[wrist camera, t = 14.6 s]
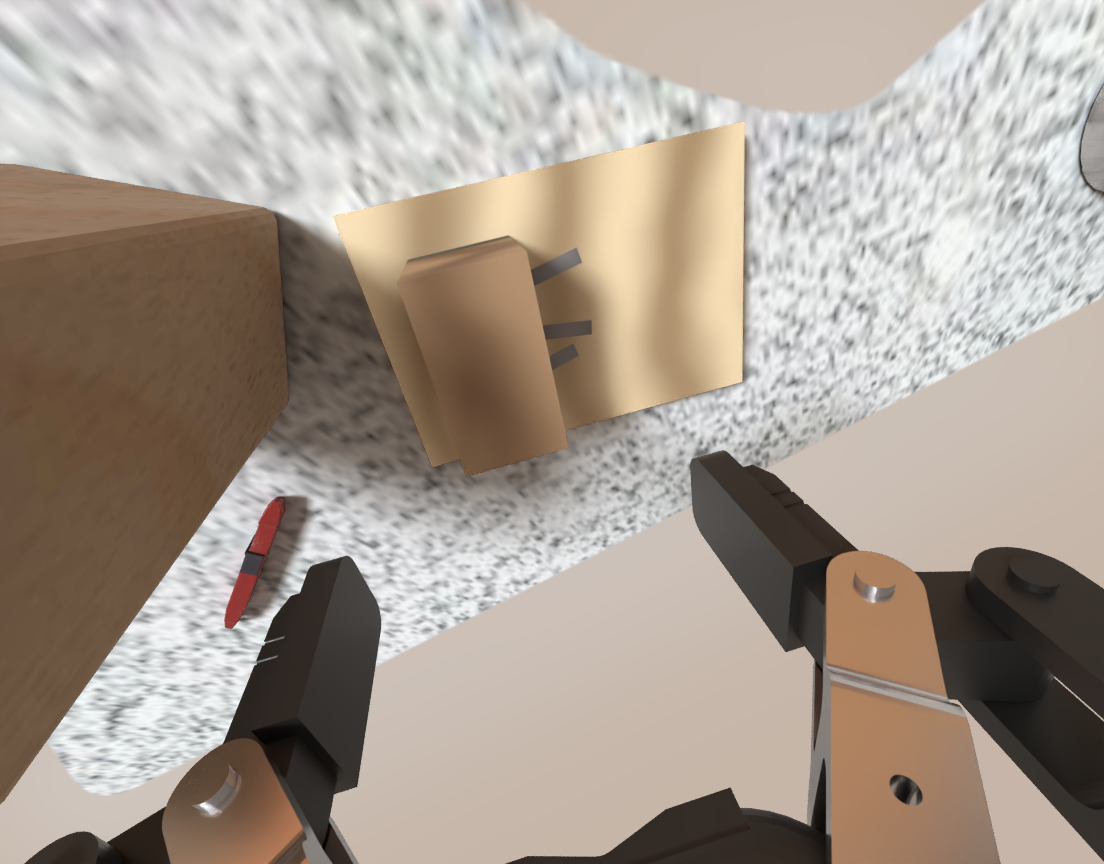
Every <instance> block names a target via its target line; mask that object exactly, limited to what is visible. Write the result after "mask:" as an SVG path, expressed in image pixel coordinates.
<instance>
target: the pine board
mask: <svg viewBox="0 0 1104 864" xmlns="http://www.w3.org/2000/svg"><path fill="white" fill-rule="evenodd" d="M744 143H745V122H741V123H736V124H731V125H726V126H722V127H718V128H713V129H709V130H705V131H700V132H696V133H692V134H687V135H683V136H679V137H674V138H670V139H665V140H661V141H657V142H652V143H648V144H644V145H639V146H635V147H631V148H626V149H622V150H618V151H613V152H609V153H605V154H600V155H596V156H592V157H587V158H583V159H579V160H574V161H570V162H565V163H561V164H557V165H552V166H548V167H544V168H539V169H535V170H531V171H526V172H522V173H518V174H513V175H509V176H505V177H500V178H496V179H492V180H487V181H483V182H478V183H474V184H470V185H465V186H461V187H457V188H452V189H448V190H444V191H439V192H435V193H431V194H426V195H422V196H418V197H413V198H409V199H405V200H400V201H396V202H392V203H387V204H383V205H378V206H374V207H370V208H365V209H361V210H357V211H352V212H348V213H344V214H339V215H336V216H333V218H334V221H335V223H336V226H337V228H338V231H339V233H340V236H341V238H342V241H343V243H344V246H345V248H346V251H347V253H348V256H349V259H350V261H351V264H352V266H353V269H354V271H355V274H356V276H357V279H358V281H359V284H360V286H361V289H362V291H363V294H364V296H365V299H366V301H367V304H368V306H369V309H370V312H371V314H372V317H373V319H374V322H375V324H376V327H377V329H378V332H379V334H380V337H381V339H382V342H383V344H384V347H385V349H386V352H387V354H388V357H389V359H390V362H391V365H392V367H393V370H394V372H395V375H396V377H397V380H398V382H399V385H400V387H401V390H402V392H403V395H404V397H405V400H406V402H407V405H408V407H409V410H410V412H411V415H412V418H413V420H414V423H415V425H416V428H417V430H418V433H419V435H420V438H421V440H422V443H423V445H424V448H425V450H426V453H427V455H428V458H429V460H430V463H431V465H432V467H435V466H438V465H442V464H446V463H449V462H453V461H457V460H460V458H459V456H458V453H457V450H456V447H455V444H454V442H453V439H452V436H451V433H450V430H449V428H448V425H447V422H446V419H445V417H444V414H443V411H442V408H441V405H440V403H439V400H438V397H437V394H436V391H435V389H434V386H433V383H432V380H431V378H430V375H429V372H428V369H427V366H426V364H425V361H424V358H423V355H422V352H421V350H420V347H419V344H418V341H417V339H416V336H415V333H414V330H413V327H412V325H411V322H410V319H409V316H408V313H407V311H406V308H405V305H404V302H403V300H402V297H401V294H400V291H399V288H398V286H397V281H398V279H399V277H400V275H401V273H402V271H403V269H404V267H405V265H406V263H407V260H408V259H413V258H417V257H421V256H425V255H429V254H433V253H437V252H441V251H446V250H450V249H454V248H458V247H462V246H466V245H470V244H474V243H479V242H483V241H487V240H491V239H495V238H499V237H503V236H507V235H509V236H510V237H511V238H512V239H513V240H514V241H516V242H517V243H518V244H519V245H520V246H521V247H522V248H524V249H525V250H526V251H527V255H528V260H529V264H530V269H531V274H532V278H533V283H534V288H535V292H536V297H537V302H538V306H539V311H540V316H541V320H542V325H543V330H544V334H545V339H546V344H547V348H548V353H549V358H550V362H551V367H552V372H553V376H554V381H555V386H556V390H557V395H558V400H559V404H560V409H561V414H562V418H563V423H564V428H565V430H569V429H573V428H576V427H580V426H584V425H587V424H591V423H594V422H598V421H602V420H605V419H609V418H613V417H616V416H620V415H624V414H627V413H631V412H634V411H638V410H642V409H645V408H649V407H653V406H656V405H660V404H663V403H667V402H671V401H674V400H678V399H682V398H685V397H689V396H692V395H696V394H700V393H703V392H707V391H711V390H714V389H718V388H721V387H725V386H729V385H732V384H736V383H740V382H742V352H743V247H744Z"/></svg>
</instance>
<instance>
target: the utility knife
mask: <svg viewBox="0 0 1104 864" xmlns="http://www.w3.org/2000/svg"><path fill="white" fill-rule="evenodd" d="M284 511H285V503H284V499H283V498H281V497H276V498H275V499H274V500H273V501H272V502H271V503H270V504H269V505H268V506H267V508H266V510H265V511H264V513H263V515H262V517H261V519H260V521H259V523H258V524H259V526H258V529H257V531H256V534H255V535H254V537H253V539H252V541H251V542H250V544H249V546H248V548H247V550H246V552H245V558H244V561H243V564H242V567H241V570H240V573H239V576H238V579H237V581H236V584H235V587H234V589H233V592H232V595H231V597H230V600H229V603H228V605H227V608H226V613H225V619H224V621H225V627H226V628H229V629H232V628H233V627H234V626H235V625H236V623H237V622H238V620H239V619H240V617H241V615H242V613H243V612H244V610H245V608H246V606H247V604H248V602H249V600H250V597H251V595H252V592H253V590H254V587H255V585H256V582H257V580H258V577H259V575H260V572H261V570H262V567H263V565H264V562H265V560H266V557H267V554H268V552H269V549H270V547H271V544H272V542H273V539H274V537H275V534H276V532H277V529H278V527H279V524H280V521H281V519H282V516H283V514H284Z"/></svg>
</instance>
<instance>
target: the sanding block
mask: <svg viewBox="0 0 1104 864" xmlns="http://www.w3.org/2000/svg"><path fill="white" fill-rule="evenodd" d="M397 286H398V288H399V291H400V294H401V297H402V300H403V302H404V305H405V308H406V311H407V313H408V316H409V319H410V322H411V325H412V327H413V330H414V333H415V336H416V339H417V341H418V344H419V347H420V350H421V352H422V355H423V358H424V361H425V364H426V366H427V369H428V372H429V375H430V378H431V380H432V383H433V386H434V389H435V391H436V394H437V397H438V400H439V403H440V405H441V408H442V411H443V414H444V417H445V419H446V422H447V425H448V428H449V430H450V433H451V436H452V439H453V442H454V444H455V447H456V450H457V453H458V456H459V458H460V461H461V464H462V467H463V469H464V472H465V475H466V477H467V476H470V475H474V474H477V473H481V472H485V471H488V470H492V469H495V468H499V467H502V466H506V465H509V464H513V463H517V462H520V461H524V460H527V459H531V458H534V457H538V456H542V455H545V454H549V453H552V452H556V451H559V450H563V449H567V448H569V446H568V442H567V437H566V432H565V428H564V423H563V418H562V414H561V409H560V404H559V400H558V395H557V390H556V386H555V381H554V376H553V372H552V367H551V362H550V358H549V353H548V348H547V344H546V339H545V334H544V330H543V325H542V320H541V316H540V311H539V306H538V302H537V297H536V292H535V288H534V283H533V278H532V274H531V269H530V264H529V260H528V255H527V251H526V250H525V249H524V248H522V247H521V246H520V245H519V244H518V243H517V242H516V241H514V240H513V239H512V238H511V237H510V236H509V235H507V236H503V237H499V238H495V239H491V240H487V241H483V242H479V243H474V244H470V245H466V246H462V247H458V248H454V249H450V250H446V251H441V252H437V253H433V254H429V255H425V256H421V257H417V258H413V259H408V260H407V263H406V265H405V267H404V269H403V271H402V273H401V275H400V277H399V279H398V281H397Z"/></svg>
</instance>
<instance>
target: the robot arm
mask: <svg viewBox="0 0 1104 864" xmlns="http://www.w3.org/2000/svg"><path fill="white" fill-rule="evenodd" d="M1081 164H1082V171H1083V173H1084V176H1085V178H1086V180H1087V182H1088V183H1089V184H1090V185H1091V186H1092V187H1093V188H1094V189H1096V190H1099V191H1102V192H1104V85H1103V87H1102V89H1101V91H1100V93H1099V95H1098V96H1097V98H1096V100H1095V102H1094V104H1093V107H1092V110H1091V112H1090V115H1089V117H1088V120H1087V122H1086V126H1085V130H1084V135H1083V139H1082V146H1081ZM690 470H691V487H692V505H693V514H694V518H695V521H696V524H697V526H698V528H699V531H700V532H701V534H702V536H703V537H704V538H705V540H706V541H707V543H708V544H709V545H710V547H711V548H712V550H713V551H714V552H715V554H716V555H717V557H718V558H719V559H720V561H721V562H722V564H723V565H724V566H725V568H726V569H727V570H728V572H729V573H730V575H731V576H732V578H733V579H734V580H735V582H736V583H737V585H738V586H739V587H740V589H741V590H742V592H743V593H744V594H745V596H746V597H747V599H748V600H749V601H750V603H751V604H752V606H753V607H754V608H755V610H756V611H757V613H758V614H759V615H760V617H761V618H762V619H763V621H764V622H765V624H766V625H767V627H768V628H769V629H770V631H771V632H772V634H773V635H774V636H775V638H776V639H777V640H778V642H779V643H780V645H781V646H782V648H783V649H784V650H785V652H788V651H790V650H794V649H797V648H800V647H803V646H805V647H806V649H807V650H808V651H809V652H810V654H811V655H812V656H813V658H814V665H813V694H812V695H813V696H812V735H811V736H812V738H811V766H810V780H809V793H808V809H807V824H804V823H802V822H800V821H797V820H795V819H793V818H790V817H788V816H784V815H781V814H777V813H774V812H771V811H765V810H758V809H752V808H740V807H739V805H738V803H737V801H736V799H735V797H734V794H733V793H732V790H731V788H728V789H725V790H722V791H719V792H716V793H713V794H710V795H707V796H704V797H701V798H698V799H695V800H692V801H689V802H686V803H683V804H681V805H678V806H675V807H672V808H669V809H666V810H664V811H663V812H662V813H661V814H659V815H658V816H657V817H655V818H654V819H653V820H651V821H650V822H649V823H647V824H646V825H645V826H643V827H642V828H641V829H639V830H638V831H637V832H635V833H634V834H633V835H631V836H630V837H629V838H627V839H626V840H625V841H623V842H622V843H621V844H619V845H618V846H617V847H615V848H614V849H613V850H612V851H610V852H609V853H607V854H605V855H602V856H597V857H561V856H557V857H556V856H527V857H524V858H521V859H518V860H515V861H512V862H509V863H507V864H1001V863H1000V859H999V854H998V850H997V846H996V841H995V837H994V832H993V828H992V824H991V819H990V814H989V810H988V805H987V801H986V797H985V792H984V788H983V784H982V779H981V775H980V770H979V766H978V761H977V757H976V753H975V748H974V743H973V739H972V735H971V730H970V726H969V723H968V720H967V717H966V715H965V713H964V711H963V709H962V708H961V707H960V706H959V705H957V704H954V703H950V702H949V700H948V699H955V700H958V701H959V702H960V703H961V704H962V705H963V706H964V707H965V709H966V710H967V711H968V712H969V713H970V714H971V715H972V716H973V717H974V719H975V720H976V721H977V722H978V723H979V724H980V725H981V726H982V727H983V729H984V730H985V731H986V732H987V733H988V734H989V735H990V736H991V737H992V738H993V740H994V741H995V742H996V743H997V744H998V745H999V746H1000V747H1001V748H1002V749H1003V751H1004V752H1005V753H1006V754H1007V755H1008V756H1009V757H1010V758H1011V759H1012V761H1013V762H1014V763H1015V764H1016V765H1017V766H1018V767H1019V768H1020V769H1021V770H1022V772H1023V773H1024V774H1025V775H1026V776H1027V777H1028V778H1029V779H1030V780H1031V781H1032V783H1033V784H1034V785H1035V786H1036V787H1037V788H1038V789H1039V790H1040V791H1041V793H1042V794H1043V795H1044V796H1045V797H1046V798H1047V799H1048V800H1049V801H1050V803H1052V805H1053V806H1054V807H1055V808H1056V809H1057V810H1058V811H1059V812H1060V814H1061V815H1062V816H1063V817H1064V818H1065V819H1066V820H1067V821H1068V822H1069V823H1070V825H1071V826H1072V827H1073V828H1074V829H1075V830H1076V831H1077V832H1078V833H1079V835H1080V836H1082V838H1083V839H1084V840H1085V841H1086V842H1087V843H1088V844H1089V846H1090V847H1091V848H1092V849H1093V850H1094V851H1095V852H1096V853H1097V854H1098V856H1099V857H1100V858H1101V859H1102V860H1103V861H1104V722H1103V721H1102V720H1101V719H1100V718H1099V717H1098V716H1097V715H1096V714H1094V713H1093V712H1092V711H1091V710H1090V709H1089V708H1088V707H1086V706H1085V705H1084V704H1083V703H1082V702H1081V701H1080V700H1079V699H1077V698H1076V697H1075V696H1074V695H1073V694H1072V693H1071V692H1069V691H1068V690H1067V689H1066V688H1065V687H1064V686H1062V685H1061V684H1060V683H1059V682H1058V681H1057V680H1056V679H1055V678H1054V676H1055V677H1056V678H1058V680H1060V681H1061V682H1062V683H1063V684H1064V685H1065V686H1066V687H1068V688H1069V689H1070V690H1071V691H1072V692H1073V693H1074V694H1076V695H1077V696H1078V697H1079V698H1080V699H1081V700H1082V701H1084V702H1085V703H1086V704H1087V705H1088V706H1089V707H1091V708H1092V709H1093V710H1094V711H1095V712H1096V713H1097V714H1098V715H1100V716H1101V717H1102V718H1103V719H1104V589H1103V588H1102V587H1100V586H1099V585H1097V584H1096V583H1094V582H1093V581H1091V580H1090V579H1088V578H1087V577H1085V576H1084V575H1082V574H1080V573H1079V572H1078V571H1076V570H1075V569H1073V568H1071V567H1070V566H1068V565H1066V564H1065V563H1063V562H1061V561H1059V560H1057V559H1055V558H1052V557H1049V556H1047V555H1044V554H1041V553H1038V552H1035V551H1030V550H1026V549H1021V548H1013V547H998V548H991V549H988V550H985V551H983V552H981V553H980V554H978V556H977V557H976V558H975V560H974V563H973V566H972V569H971V571H963V572H961V571H958V572H913V571H912V570H911V569H910V568H909V567H907V566H906V565H904V564H903V563H901V562H899V561H897V560H895V559H893V558H891V557H888V556H885V555H882V554H879V553H874V552H868V551H858V550H857V549H856V548H855V547H854V546H853V545H852V544H851V543H849V541H847V540H846V539H845V538H844V537H843V536H842V535H841V534H840V533H839V532H837V531H836V530H835V529H834V528H833V527H832V526H831V525H830V524H829V523H827V522H826V521H825V520H824V519H823V518H822V517H821V516H820V515H818V513H816V512H815V511H814V510H813V509H812V508H811V507H810V506H809V505H807V504H804V502H803V500H802V499H801V498H800V497H798V496H797V495H796V494H795V493H794V492H791V491H790V488H789V487H787V486H786V485H785V484H784V483H783V482H782V481H781V480H780V479H779V478H778V477H777V476H775V475H774V474H772V473H770V472H767V471H765V470H763V469H761V468H759V467H756V466H754V465H750V466H746V467H742V466H741V465H740V464H739V463H738V462H737V461H736V460H735V459H734V458H733V457H732V456H731V455H730V454H729V453H728V452H726V451H719V452H715V453H712V454H708V455H704V456H701V457H697V458H694V459H692V460H691V464H690ZM380 632H381V616H380V610H379V607H378V604H377V601H376V599H375V598H374V596H373V594H372V592H371V591H370V589H369V587H368V585H367V584H366V582H365V580H364V578H363V577H362V575H361V573H360V571H359V570H358V568H357V566H356V564H355V563H354V561H353V560H352V558H350V557H349V556H344V557H340V558H337V559H333V560H330V561H326V562H323V563H319V564H316V565H313V566H311V567H310V568H309V570H308V572H307V575H306V578H305V581H304V583H303V586H302V589H301V592H300V593H299V594H296V595H292V596H290V598H289V599H288V600H287V602H286V603H285V604H284V605H283V607H282V608H281V609H280V610H279V612H278V613H277V614H276V616H275V617H274V618H273V620H272V623H271V625H270V628H269V630H268V633H267V635H266V638H265V640H264V642H265V645H264V646H262V648H261V650H260V653H259V655H258V658H257V660H256V661H257V665H255V666H254V668H253V670H252V673H251V675H250V678H249V680H248V683H247V685H246V688H245V690H244V693H243V695H242V698H241V700H240V703H239V705H238V708H237V710H236V713H235V715H234V718H233V720H232V723H231V725H230V728H229V730H228V733H227V735H226V738H225V740H224V743H223V744H222V745H220V746H218V747H217V748H215V749H214V750H212V751H211V752H209V753H208V754H207V755H205V756H204V757H203V758H202V759H201V760H199V761H198V762H197V763H196V764H195V765H194V766H193V767H192V768H191V769H190V770H189V771H188V772H187V774H186V775H185V776H184V777H183V778H182V780H181V781H180V782H179V784H178V785H177V787H176V788H175V790H174V791H173V793H172V795H171V797H170V799H169V801H168V803H167V806H166V807H164V808H162V809H161V810H159V811H158V812H156V813H154V814H153V815H151V816H149V817H148V818H146V819H144V820H143V821H141V822H140V823H138V824H136V825H135V826H133V827H131V828H130V829H128V830H127V831H125V832H123V833H122V834H120V835H119V836H117V837H115V838H113V839H112V840H110V841H108V842H107V843H106V842H105V841H103V840H101V839H100V838H98V837H97V836H95V835H93V834H92V833H90V832H76V833H72V834H69V835H67V836H65V837H62V838H60V839H58V840H56V841H54V842H53V843H51V844H49V845H48V846H46V847H45V848H43V849H42V850H41V851H39V852H38V853H37V854H35V855H34V856H33V857H32V858H30V859H29V860H28V861H27V862H26V863H25V864H359V863H358V862H357V860H356V858H355V856H354V855H353V853H352V851H351V849H350V848H349V846H348V844H347V842H346V841H345V839H344V837H343V836H342V834H341V832H340V831H339V829H338V827H337V825H336V824H335V822H334V821H333V819H332V818H331V817H330V812H331V807H332V802H333V795H334V794H336V793H339V792H343V791H345V790H349V789H352V788H355V787H357V784H358V778H359V771H360V764H361V758H362V751H363V745H364V738H365V731H366V725H367V718H368V712H369V705H370V698H371V692H372V685H373V678H374V672H375V665H376V658H377V652H378V645H379V639H380Z"/></svg>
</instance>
